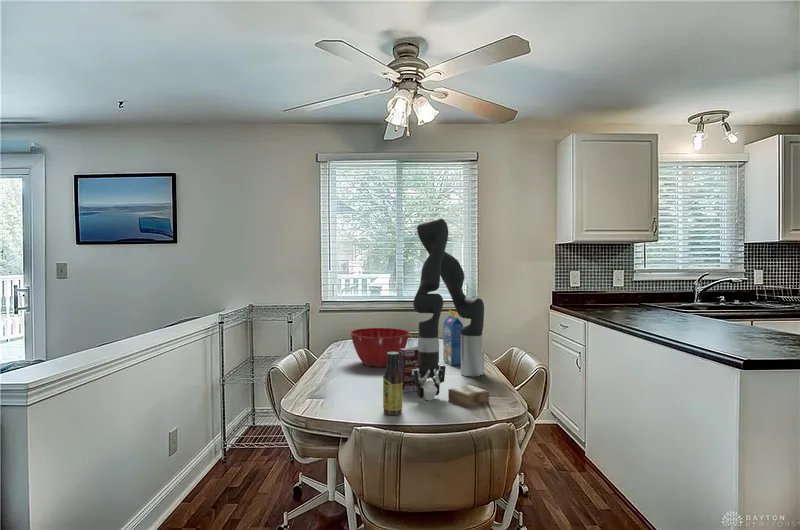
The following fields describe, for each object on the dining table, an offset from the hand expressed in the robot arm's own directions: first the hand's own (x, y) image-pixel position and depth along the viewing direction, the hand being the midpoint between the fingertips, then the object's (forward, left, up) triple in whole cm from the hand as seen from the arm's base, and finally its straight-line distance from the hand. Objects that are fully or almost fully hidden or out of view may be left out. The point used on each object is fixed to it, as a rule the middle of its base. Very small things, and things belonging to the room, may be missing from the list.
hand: (428, 396), depth 176 cm
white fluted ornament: (0, 0, -1) cm, 1 cm away
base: (-10, +10, -1) cm, 14 cm away
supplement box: (-2, -14, -1) cm, 14 cm away
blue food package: (-46, -42, -1) cm, 62 cm away
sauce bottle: (+19, +6, -1) cm, 20 cm away
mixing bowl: (-16, -60, -1) cm, 62 cm away
